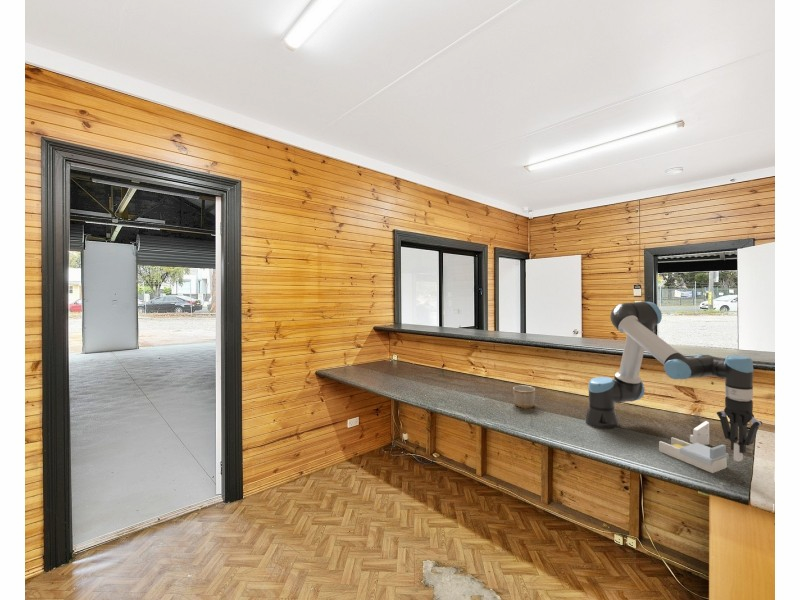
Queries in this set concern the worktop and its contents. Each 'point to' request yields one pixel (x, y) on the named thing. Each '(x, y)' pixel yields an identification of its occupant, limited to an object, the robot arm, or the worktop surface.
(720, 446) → the cover
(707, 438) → the white angled block
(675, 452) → the long white channel rail
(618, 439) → the worktop surface
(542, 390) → the worktop surface
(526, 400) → the planter
